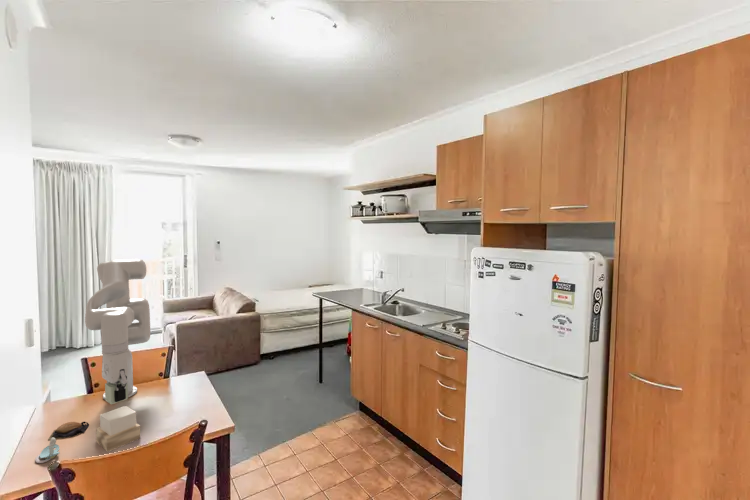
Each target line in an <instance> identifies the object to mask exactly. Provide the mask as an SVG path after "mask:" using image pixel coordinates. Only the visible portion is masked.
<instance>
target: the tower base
mask: <svg viewBox="0 0 750 500" xmlns="http://www.w3.org/2000/svg"><path fill="white" fill-rule="evenodd" d="M139 439H141V425H140V424H139V423H138V422H136V426H134V427H131V428H129V429H127V430H124V431H122V432H119V433H117V434H114V435H112V436H110V435H108V434H107V433H106V432H104V431H103V430H101V429H100V427H97V428H95V441H96V442H95V443H97V444H98V445H99V446H100V447H101V448H102V449H103V450H104V451H106V453H108V452H111V451H114V450H116V449H118V448H121V447H123V446H127V445H128V444H131V443H132V442H135V441H137V440H139Z"/></svg>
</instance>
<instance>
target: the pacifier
mask: <svg viewBox="0 0 750 500" xmlns="http://www.w3.org/2000/svg"><path fill="white" fill-rule="evenodd" d="M56 443H57V439H55V438H54V437H52V438H51V440H49V444H48V445H47V446H46V447H44V448H43V449H42V450H41V451H40V454H39V453H38V455H37V456H36V457H35V459H34V462H36V463H37V464H44V463H46V462H48V461H50V460H52V459H54V458H55V457H56V456H57V455H59V454H60V451H59V450H60V446H59V445H58V444H56Z"/></svg>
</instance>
